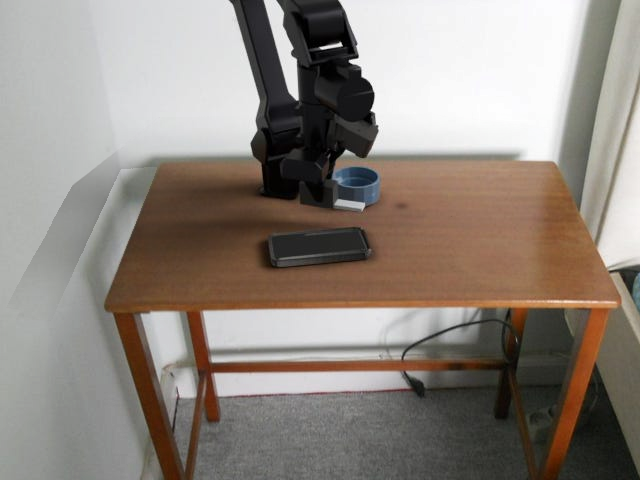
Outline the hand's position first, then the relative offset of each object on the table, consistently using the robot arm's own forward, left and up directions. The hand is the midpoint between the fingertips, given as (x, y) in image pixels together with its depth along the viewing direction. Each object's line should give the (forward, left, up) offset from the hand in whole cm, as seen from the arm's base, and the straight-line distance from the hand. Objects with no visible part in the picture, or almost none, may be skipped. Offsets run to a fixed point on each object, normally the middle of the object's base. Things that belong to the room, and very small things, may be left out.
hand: (321, 197), depth 105 cm
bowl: (+3, +10, -5) cm, 11 cm away
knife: (+2, 0, -1) cm, 2 cm away
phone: (+2, -8, -5) cm, 9 cm away
